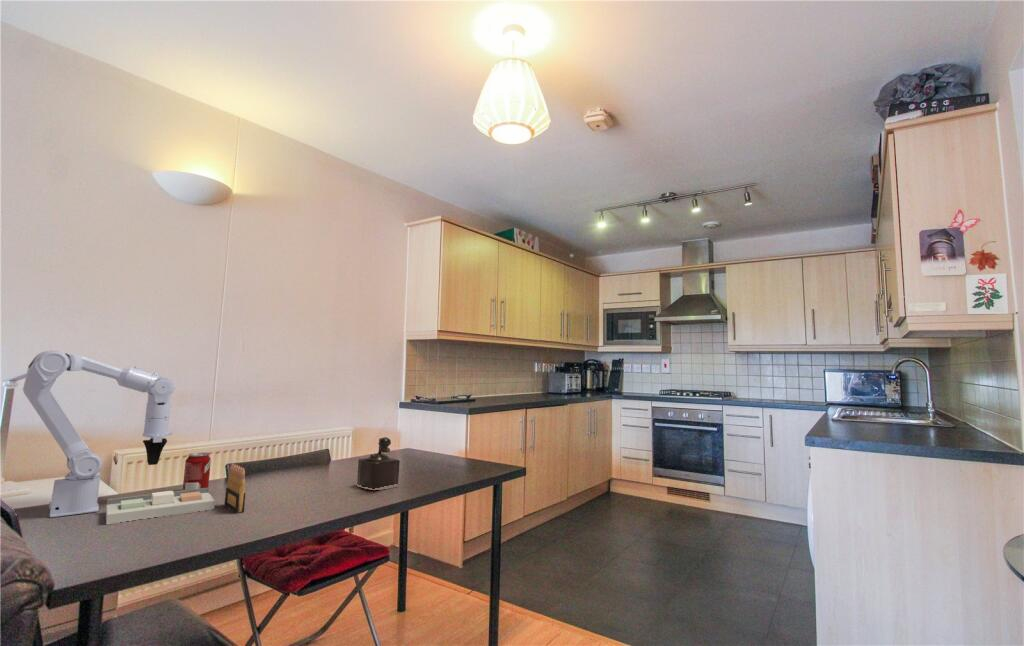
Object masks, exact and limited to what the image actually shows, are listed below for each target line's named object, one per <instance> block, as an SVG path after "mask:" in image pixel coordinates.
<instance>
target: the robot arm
mask: <svg viewBox="0 0 1024 646" xmlns="http://www.w3.org/2000/svg"><path fill="white" fill-rule="evenodd" d="M65 371H66V372H75V371H85V372H89V373H92V374H96V375H99V376H103V377H106V378H110V379H113V380H116V381H117V384H118V386H120V387H124V388H127V389H130V390H133V391H138V392H140V393H147V402H146V407H145V419H144V426H143V427H144V429H143V432H142V437H146V438H149V439H144V440H142V443H143V446H144V447H145V451H146V461H147V465H148V466H153V465H154V466H155V465H158V463H159V461H160V458H161V454H162V451H163V449H164V448H165V446H166V445H167V443H168V440H167V438H164V437H166V436H170V435H173V431H169V421H170V412H171V411H170V410H171V398H172V397H171V396H172V394H173V393H174V391H175V389H176V387H175V385H174V382H173V380H172V379H170V378H167V377H162V376H159V373H156V372H154V373H150V372H148V371H144V370H142V369H141V367H140V366H134V367H133V366H132V367H131V366H128V367H124V368H119V367H116V366H113V365H110V364H107V363H105V362H102V361H98V360H96V359H92V358H89V357H86V356H84V355H78V354H73V353H67V352H66V353H65V352H62V351H59V350H45V351H42V352H40V353H38V354H36V355H35V357H34V358H33V359H32V360H31V361H30V362H29V365H28V367H27V372H26V376H25V380H24V383H23V387H22V391H23V393H24V395H25V397H26V398H27V399H28V402H29V403H30V404H31V406H32V407H33V409H34V410H35V412H36V413H37V415H38V416H39V417H40V419H41V420H42V422H43V423H44V425H45V427H46V428H47V430H48V431H49V433H50V434H51V435H52V438H53V439H54V440H55V442H56V443H57V445H58V446H59V448H60V449H61V451H62V453H63V455H64V456H65V457H66V467H67V469H68V470H69V472H68V473H67V474H66V475H65V476H64V478H59V479H55V480H54V481H53V486H52V487H53V489H52V494H51V495H52V496H51V501H50V502H49V506H48V507H49V508H48V510H50V511H49V516H48V517H49V518H57V517H63V516H64V517H65V516H73V515H79V514H87V513H96V512H99V510H100V509H99V508H100V507H99V506H100V505H99V504H100V503H98V500H99V499H98V497H99V490H100V481H101V473H100V471H101V469H102V468H103V465H104V463H103V459H102V458H101V457H100V456H99V455H98V454H96V453H95V452H94V451H93V450H91V449H90V448H89V447H88V445H87V443H86V442H85V441H84V440H83V438H82V436H81V435H80V434H79V432H78V431H77V429H76V427H75V426H74V425H73V423H72V421H71V420H70V418H69V417H68V416H67V413H66V412H65V410H64V409H63V408H62V406H61V404H60V403H59V402H58V400H57V399H56V396H55V395H54V394H53V392H52V391H51V389H52V387H53V386H54V384H55V383H56V380H57V379H58V378H59V377H60V376H61V375H62V374H63V373H65Z"/></svg>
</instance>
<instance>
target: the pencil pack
mask: <svg viewBox="0 0 1024 646" xmlns="http://www.w3.org/2000/svg"><path fill="white" fill-rule="evenodd" d="M245 472H246V471H245V468H244V467H242V466H240V465H238V464H236V463H234V462H232V463H231V465H230V468H229V473H228V479H227V487H225V498H224V505H223V506H225V507H226V506H227V507H226V508H227V509H229V508H230V509H229V510H230V511H232V510H233V511H232V512H234V513H235V512H236V513H235V514H240V513H241V512H242V513H245V506H246V505H245V504H246V503H245V501H246V492H245V491H246V490H245V489H246V481H245V480H246V473H245Z"/></svg>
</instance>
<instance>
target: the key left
mask: <svg viewBox="0 0 1024 646" xmlns="http://www.w3.org/2000/svg"><path fill="white" fill-rule="evenodd" d="M143 506H144V501H143V498H140V499H132V500H123V501H121V504H120V510H122V509H130V508H138V507H143Z"/></svg>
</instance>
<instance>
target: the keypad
mask: <svg viewBox="0 0 1024 646" xmlns="http://www.w3.org/2000/svg"><path fill="white" fill-rule="evenodd" d="M209 488H210V487H208V488H200V489H191V490H183V489H182V490H176V491H175V490H174V491H173V493H174V502H173V503H170V504H162V505H154V506H151V497H152V493H150V494H149V493H148V494H141V495H131V496H124V497H123V496H122V497H115V498H114V497H113V498H107V500H106V509H105V524H106V525H113V524H121V523H120V522H122V523H127V522H126V521H129V522H133V521H132V520H136V521H139V520H138V519H143V520H148V519H147V518H151V519H155V518H154V517H158V518H163V516H165V517H170V515H172V516H178V515H185V514H191V513H198V511H200V512H205V510H207V511H212V509H214V510H215V504H216V500H215V499H214V498H213V496H212V495H211V494H210V493H209ZM191 492H200V493H201V494H202V499H201V500H193V501H185V502H180V494H183V493H191ZM140 498H143V501H144V506H143V507H138V508H130V509H122V510H120V504H121V501H123V500H132V499H140Z"/></svg>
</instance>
